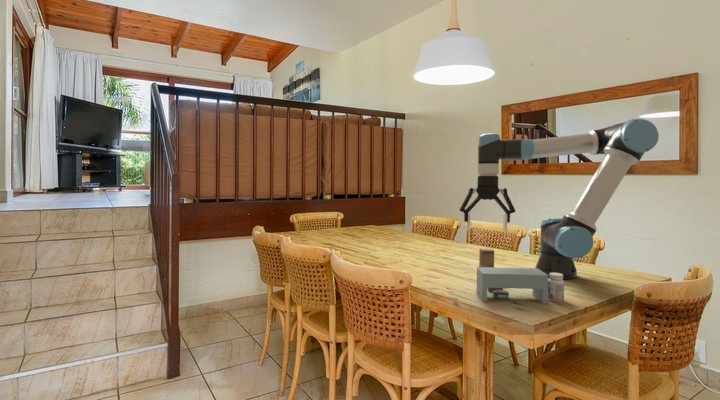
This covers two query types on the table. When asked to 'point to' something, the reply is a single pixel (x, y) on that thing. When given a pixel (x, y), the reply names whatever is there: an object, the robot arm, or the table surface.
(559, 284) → the pill bottle
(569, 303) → the table surface
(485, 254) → the brown angled block
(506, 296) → the steel puck
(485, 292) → the bench
